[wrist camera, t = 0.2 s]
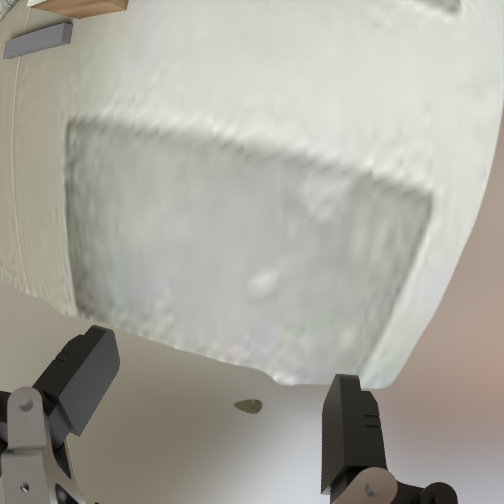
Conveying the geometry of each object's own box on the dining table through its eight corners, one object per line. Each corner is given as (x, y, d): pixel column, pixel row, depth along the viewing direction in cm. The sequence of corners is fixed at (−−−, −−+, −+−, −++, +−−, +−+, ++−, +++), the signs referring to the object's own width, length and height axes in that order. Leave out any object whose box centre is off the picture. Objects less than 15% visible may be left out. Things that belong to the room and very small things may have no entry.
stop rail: (13, 42, 31) (5, 41, 29) (72, 24, 30) (64, 22, 28) (11, 58, 32) (2, 58, 30) (69, 43, 31) (61, 42, 29)
